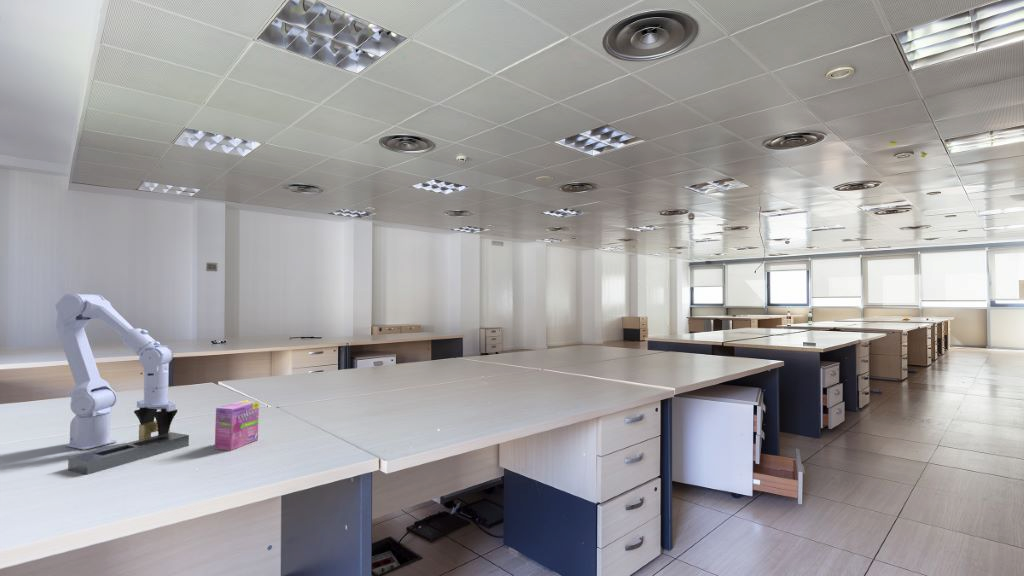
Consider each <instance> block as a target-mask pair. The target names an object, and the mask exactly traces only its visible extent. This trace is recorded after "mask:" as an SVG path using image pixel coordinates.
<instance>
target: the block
mask: <svg viewBox="0 0 1024 576" xmlns="http://www.w3.org/2000/svg"><path fill="white" fill-rule="evenodd" d="M189 441H190V435H189V434H184V433H179V432H174V431H173V432H172V431H170V432H169V433H166V434H162V435H158V434H157V435H153V436H151V437H149V438H145V439H141V440H139V439H138V440H134V441H130V442H126V443H122V444H118V445H114V446H110V447H105V448H101V449H98V450H94V451H89V452H85V453H82V454H77V455H73V456H69V457H68V462H67V471H72V472H77V473H80V474H84V475H90V474H93V473H97V472H101V471H105V470H108V469H112V468H115V467H119V466H122V465H125V464H130V463H132V462H133V463H134V462H136V461H140V460H143V459H146V458H150V457H153V456H157V455H161V454H164V453H168V452H171V451H175V450H177V449H182V448H184V447H188V446H189V445H190V443H189Z"/></svg>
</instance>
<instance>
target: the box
mask: <svg viewBox="0 0 1024 576" xmlns="http://www.w3.org/2000/svg"><path fill="white" fill-rule="evenodd" d="M259 409H260V401H259V400H248V399H245V400H243V399H242V400H241V401H237V402H236V401H235V402H233V403H230V404H226V405H222V406H219V407H216V408H215V424H214V425H215V429H214V431H215V432H214V433H215V434H214V450H218V451H228V452H229V451H233V450H236V449H239V448H241V447H244V446H245V445H247V444H248V445H249V444H251V443H253V442H256V441H258V439H259Z"/></svg>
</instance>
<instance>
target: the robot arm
mask: <svg viewBox="0 0 1024 576" xmlns="http://www.w3.org/2000/svg"><path fill="white" fill-rule="evenodd" d="M55 308H56V311H57V319H56V324H55V326H56V327H55V328H56V331H57V334H58V336H59V339H60V343H61V346H62V348H63V351H64V354H65V358H66V361H67V363H68V366H69V370H70V372H71V374H72V378H73V380H74V384H75V386H73V388H72V390H71V391H70V392H69V393H70V398H71V399H70V405H69V406H70V410H71V412H72V413H73V414H75V416H74V417H73V418H72V419H71V421H70V425H69V443H65V446H66V447H69V448H74V449H79V450H85V451H86V450H89V449H93V448H97V447H102V446H106V445H110V444H114V443H118V440H117V439H111V436H110V435H111V411H112V407H114V406H115V405H116V403H117V401H118V395H117V393H116V391H115V390H114V389H112V387H111V385H110V382H109V381H106V380H105V379H103V378H101V375H100V372H99V368H98V366H97V363H96V360H95V357H94V354H93V351H92V349H91V346H90V343H89V339H88V336H87V334H86V333H87V332H86V330H85V327H86V325H88V324H89V322H90V321H92V320H93V319H98V320H100V321H102V322H103V323H104V324H105V325H107V326H108V327H110V328H111V330H114V332H116V333H118V334H119V335H120V336H122V337H121V342H122V343H123V345H125V346H126V347H127V348H128V349H129V350H131V351H132V352H133V353H134V354H135V355H137V356H138V357H139V358H138V359H139V363H140V364H141V365H142V367H143V373H144V374H143V400H141V399H140V400H137V401H136V408H138V409H135V410H133V413H134V414H135V416H136V418H137V419H138V421H139V423H140V424H145V423H149V422H154V421H157V427H158V431H157V435H158V434H159V435H162V434H166V433H168V431H169V428H170V429H171V424H172V422H173V420H174V417H175V416H176V414H177V413H178V409H176V407H177V405H176V403H175V402H171V401H170V400H169V372H170V371H169V367H170V366H169V364H170V362H171V361H172V360H173V359H174V358H173V357H174V353H173V351H172V349H171V348H170V346H168V345H161V342H159V341H157V340H155V339H154V338H153V337H151V335H149V331H148V330H147V329H142V328H140V327H139V328H137V327H136V328H134V327H133V326H132V325H131V324H130V323H129V322H128V321H127V320H126V319H125V318H124V317H123V316H122V315H121V314H120V313H119V312H118V311H117V310H116V309H115V308H114V307H113V306H112V304H111V302H110V301H109V300H107V299H105V298H104V296H103V295H101V294H98V293H93V294H92V293H91V294H88V293H86V294H84V293H83V294H82V293H66V294H65V295H63V296H62V297H61V298H60V299H59V300H58V302H57V303H56V304H55ZM158 410H159V411H158ZM140 424H139V425H140Z"/></svg>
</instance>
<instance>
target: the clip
mask: <svg viewBox="0 0 1024 576" xmlns="http://www.w3.org/2000/svg"><path fill="white" fill-rule="evenodd" d="M157 432H158V427H157V421H156V420H154V422H149V423H145V424H139V425H138V440H141V439H145V438H149V437H152V433H157ZM169 432H171V427H170V428H169V431H168V433H169ZM157 435H159V434H158V433H157Z"/></svg>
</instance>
